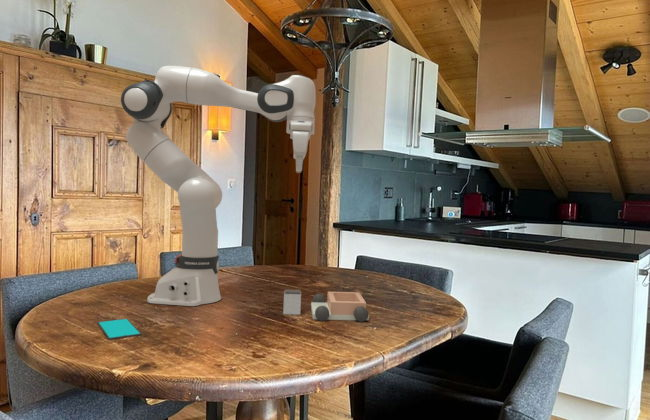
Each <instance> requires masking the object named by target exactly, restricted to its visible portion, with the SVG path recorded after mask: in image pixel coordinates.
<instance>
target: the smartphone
mask: <svg viewBox="0 0 650 420" xmlns="http://www.w3.org/2000/svg"><path fill="white" fill-rule="evenodd" d="M97 325H98V327H99V328H100V330H101V331H102V334H103V335H104V337H105V338H106V339H107V340H108V341H113V340H118V339H119V340H120V339H126V338H133V337H134V338H135V337H140V336H142V332H141V331H140V330H139V329H138V328H137V327H136V325H134V324H133V323H132V321H131V320H129V319H128V318H118V319H112V320H111V319H110V320H104V321H97Z"/></svg>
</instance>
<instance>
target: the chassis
mask: <svg viewBox="0 0 650 420" xmlns="http://www.w3.org/2000/svg"><path fill="white" fill-rule="evenodd" d="M326 298H327V299H326ZM310 304H311V305H310V308H311V315H312V320H318V321H320V322H325V321H328V320H329V321H333V320H334V321H357V322H358V323H359V322H360V323H363V322H365V321H368V322H369V321H370V314H369V311H368V310H367V302H366V300H365V299H364V298H363V296H362V294H361V293H360V292H359V291H355V292H354V291H327V296H326V297H325V295H324V294H322V293H316V294H315V295H313V297H312V301H311V302H310Z"/></svg>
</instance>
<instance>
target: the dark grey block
mask: <svg viewBox="0 0 650 420" xmlns="http://www.w3.org/2000/svg"><path fill="white" fill-rule="evenodd" d="M301 306H302V291H301V289H284V291H283V308H282V309H283V313H282V314H283V315H298V316H299V315H301V311H302V310H301Z"/></svg>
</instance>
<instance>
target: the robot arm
mask: <svg viewBox="0 0 650 420" xmlns="http://www.w3.org/2000/svg"><path fill="white" fill-rule="evenodd" d="M316 91H317V90H316V85H315V82H314V81H313V80H312V79H311V78H310V77H308V76H305V75H303V74H291V76H289V77H288V78H285V79H284V80H282V81H279V82H275V83H271V84H270V83H269V84H266V85H263V87H262V88H261V89H260V90H259V91H258V92H254V91H249V90H246V89H245V90H244V89H240V88H237V87H235V86H233V85H230V84H229V83H228V82H226V81H225V80H223V79H222V78H220V76H218V75H217V74H215V73H213V72H210V71H207V70H204V69H201V68H197V67H192V66H191V67H190V66H184V65H183V66H182V65H164V66H162V67H160V68H159V69H158V70H157V72H156V75H155V79H154V80H151V79H145V80H142V81H139V82H136V83H132V84H130V85H127V86H126V87H125V88H124V89H123V90H122V93H121V94H120V95H121V96H120V102H121V103H120V104H121V106H122V108H123V110H124V112H125V113H127V114H128V115H129V116H130V117H131V118H133V122H132V124H131V125H130V126H129V127H128V129H127V130H126V133H125V139H126V142H127V144H129V146H130V147H131V149H132V151H134V153H135V155H136V156H137V157H138V158H139V159H140V160H141V161H142V162H143V163H144V164H145V166H147V167H148V168H149V169H150V170H151V171H152V172H153V173H154V174H155V175H156V176H157V177H158V178H159V180H161V181H162V183H164V184H166V185H167V186H169V187H170V188H171V189H172V190H174V191H175V192H176V193H177V198H178V203H179V214H180V221H181V232H182V236H181V237H182V239H181V254H177V256H176V257H175V259H174V265H175V267H174V268H171V270H170V271H168V272H166V273H165V274H164V275H163V276H162V277H160V278H159V279H158V281H157V282H156V286H155V291H154V292H152V293H151V294H149V295H148V296H147V299H146V302H147V303H148V304H156V305H172V306H185V307H195V306H196V307H197V306H200V305H201V306H202V305H205V304H206V305H207V304H212V303H216V302H219V301H220V300H221V299H222V296H221V292H220V287H219V286H220V285H219V278H218V276H219V275H218V273H219V270H220V260H219V255H218V249H219V248H218V247H219V242H218V241H219V229H218V222H217V208H218V206H219V205H220V204H221V202H222V200H223V192H222V188H221V187H220V185H219V184H218V183H217V182H216V181H215V180H214V179H213V178H212V177H211V176H210V175H209V174H208V173H207V172H206V171H204V169H202V168H201V167H200V166H199V165H198V164H197V163H196V162H194V161H193V160H192V159H191V158H190V157H189V156H188V155H187V154H186V153H185V152H184V151H183V150H182V149H181V148H180V147H179V146H178V145H177V144H176V143H175V142H174V141H173V140H172V139H171V138H170V137H169V136H168V135H167V134H166V133H165V131H163V129H164V127H165V126H166V123H167V122H168V121H169V119H170V117H171V115H172V112H173V104H172V103H175V102H178V103H179V102H180V103H186V104H190V105H197V106H206V107H207V106H208V107H227V108H233V109H239V110H243V111H248V112H252V113H257V114H259V115H261V116H262V117H264V118H266V119H267V120H269V121H270V122H273V123H280V122H284V121H286V131H285V132H286V133H287V134H288V135H290V136H289V139H291V140H292V149H293V159H294V160H295V172H296V174H301V173H302V171H303V163H304V159H305V157H306V156H307V152H308V146H309V140H310V139H311V136H313V135H315V122H316V119H315V108H316V101H317V99H316V98H317V97H316V94H317V93H316Z"/></svg>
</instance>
